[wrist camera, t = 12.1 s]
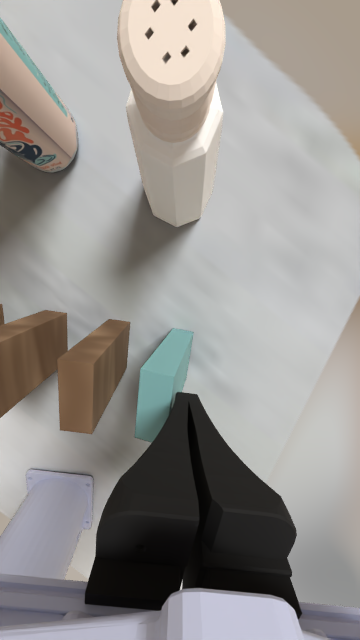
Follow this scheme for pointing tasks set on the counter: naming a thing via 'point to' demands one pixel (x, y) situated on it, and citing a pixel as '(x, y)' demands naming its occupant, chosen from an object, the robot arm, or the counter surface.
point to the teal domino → (162, 383)
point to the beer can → (32, 111)
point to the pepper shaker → (174, 99)
